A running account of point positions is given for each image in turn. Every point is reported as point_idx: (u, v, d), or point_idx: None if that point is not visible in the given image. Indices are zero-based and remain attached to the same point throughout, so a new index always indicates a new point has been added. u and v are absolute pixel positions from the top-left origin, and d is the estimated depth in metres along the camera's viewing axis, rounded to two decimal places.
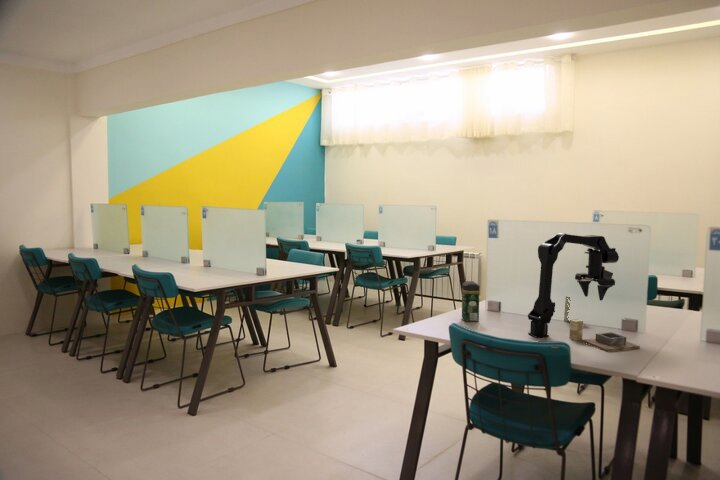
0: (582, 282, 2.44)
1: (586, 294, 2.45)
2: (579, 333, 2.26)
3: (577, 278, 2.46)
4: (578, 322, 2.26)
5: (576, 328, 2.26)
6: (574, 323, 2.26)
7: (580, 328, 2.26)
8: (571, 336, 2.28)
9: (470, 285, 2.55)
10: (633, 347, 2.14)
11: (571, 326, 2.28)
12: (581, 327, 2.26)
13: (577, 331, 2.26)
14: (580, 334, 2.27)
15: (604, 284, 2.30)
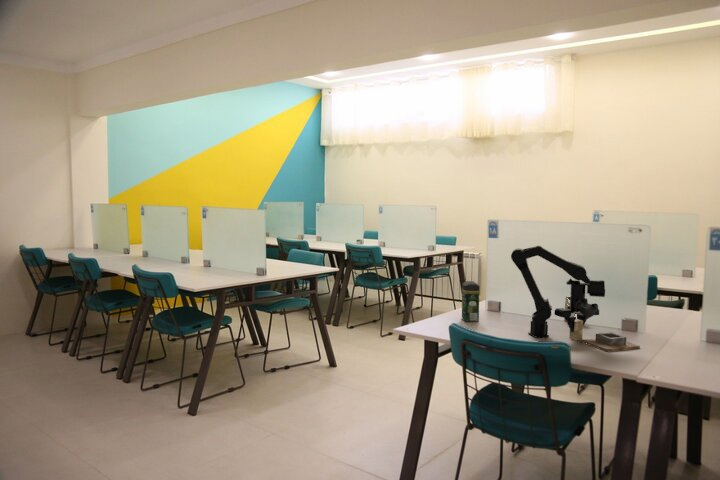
0: (578, 315, 2.30)
1: None
2: (579, 333, 2.26)
3: None
4: (578, 322, 2.26)
5: (576, 328, 2.26)
6: (574, 323, 2.26)
7: (580, 328, 2.26)
8: (571, 336, 2.28)
9: (470, 285, 2.55)
10: (633, 347, 2.14)
11: None
12: (581, 327, 2.26)
13: (577, 331, 2.26)
14: (580, 334, 2.27)
15: (554, 313, 2.27)
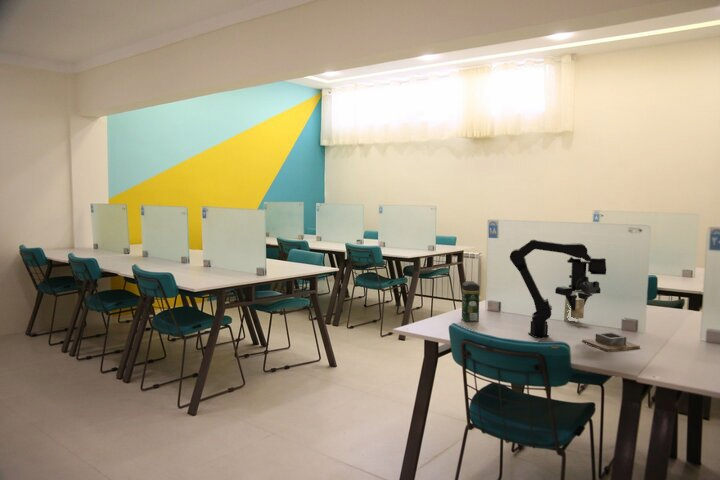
0: (579, 294, 2.29)
1: None
2: (581, 312, 2.26)
3: None
4: (579, 300, 2.25)
5: (577, 306, 2.25)
6: (575, 301, 2.25)
7: (581, 306, 2.25)
8: (572, 315, 2.27)
9: (470, 285, 2.55)
10: (633, 347, 2.14)
11: None
12: (582, 305, 2.26)
13: (578, 310, 2.25)
14: (581, 312, 2.26)
15: (555, 291, 2.26)
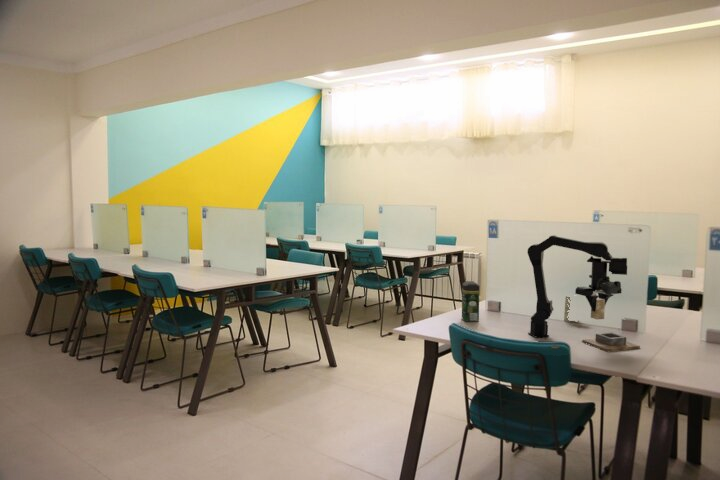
0: (599, 294, 2.24)
1: None
2: (601, 312, 2.20)
3: None
4: (600, 301, 2.19)
5: (597, 307, 2.19)
6: (596, 302, 2.20)
7: (602, 307, 2.20)
8: (593, 315, 2.22)
9: (470, 285, 2.55)
10: (633, 347, 2.14)
11: None
12: (603, 306, 2.20)
13: (599, 310, 2.20)
14: (602, 313, 2.20)
15: (575, 292, 2.21)
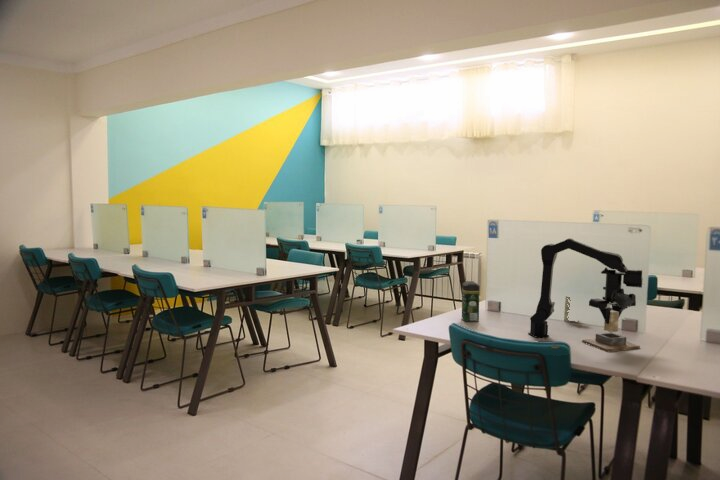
0: (613, 306, 2.20)
1: None
2: (615, 325, 2.17)
3: None
4: (614, 313, 2.16)
5: (611, 319, 2.16)
6: None
7: (616, 319, 2.17)
8: (606, 328, 2.18)
9: (470, 285, 2.55)
10: (633, 347, 2.14)
11: None
12: (617, 318, 2.17)
13: (613, 323, 2.16)
14: (616, 325, 2.17)
15: (589, 303, 2.17)
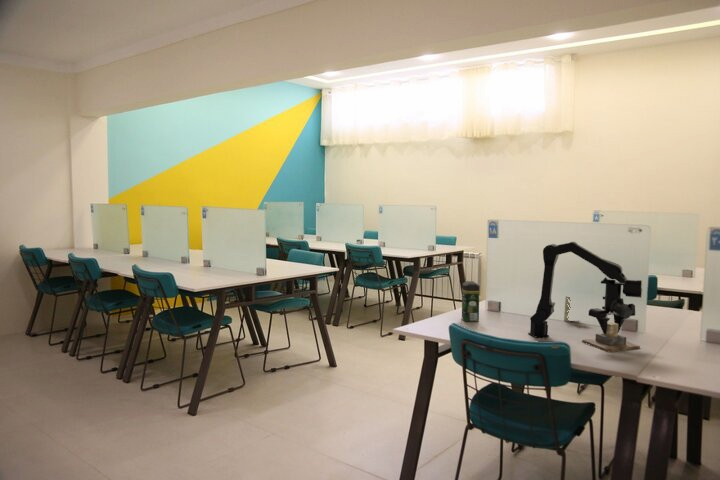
0: (615, 315, 2.21)
1: None
2: None
3: None
4: (613, 325, 2.16)
5: (611, 332, 2.16)
6: (609, 326, 2.17)
7: (615, 331, 2.17)
8: None
9: (470, 285, 2.55)
10: (633, 347, 2.14)
11: None
12: (616, 330, 2.17)
13: (612, 335, 2.17)
14: None
15: None
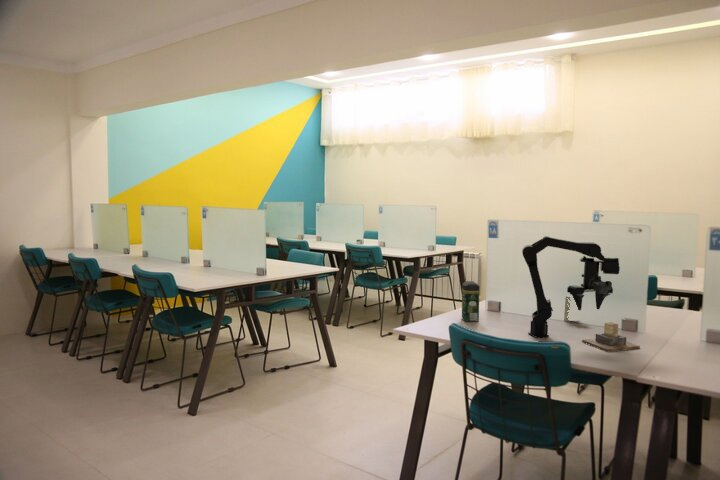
0: (596, 293, 2.29)
1: (597, 306, 2.28)
2: None
3: None
4: (613, 325, 2.16)
5: (611, 332, 2.16)
6: (609, 326, 2.17)
7: (615, 331, 2.17)
8: None
9: (470, 285, 2.55)
10: (633, 347, 2.14)
11: (605, 329, 2.19)
12: (616, 330, 2.17)
13: (612, 335, 2.17)
14: None
15: (567, 290, 2.26)
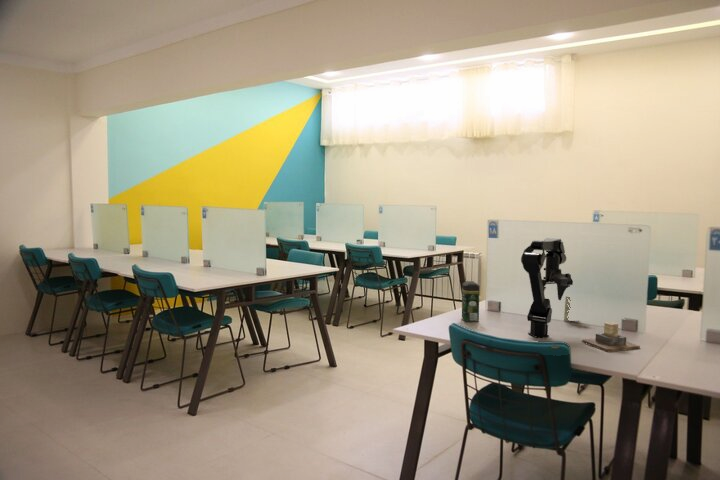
0: (558, 285, 2.46)
1: (559, 298, 2.45)
2: None
3: None
4: (613, 325, 2.16)
5: (611, 332, 2.16)
6: (609, 326, 2.17)
7: (615, 331, 2.17)
8: None
9: (470, 285, 2.55)
10: (633, 347, 2.14)
11: (605, 329, 2.19)
12: (616, 330, 2.17)
13: (612, 335, 2.17)
14: None
15: None
